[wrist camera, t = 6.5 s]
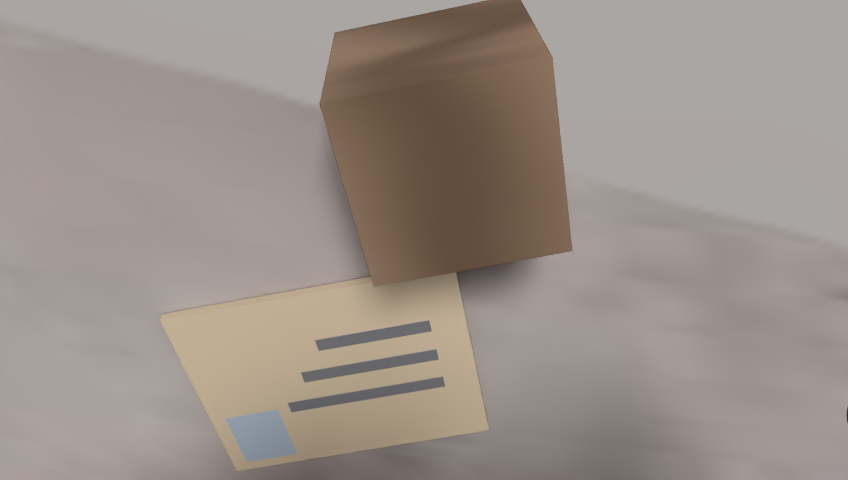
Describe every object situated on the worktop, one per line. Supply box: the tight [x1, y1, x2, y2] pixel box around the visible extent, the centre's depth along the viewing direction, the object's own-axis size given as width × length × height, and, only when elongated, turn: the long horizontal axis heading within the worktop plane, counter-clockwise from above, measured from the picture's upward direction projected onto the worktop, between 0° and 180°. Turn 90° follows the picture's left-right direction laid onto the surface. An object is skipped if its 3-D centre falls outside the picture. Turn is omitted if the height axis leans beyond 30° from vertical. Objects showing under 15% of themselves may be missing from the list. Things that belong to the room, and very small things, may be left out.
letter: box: [160, 272, 489, 471], centre depth 23 cm, size 9×7×1 cm
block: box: [320, 0, 572, 287], centre depth 17 cm, size 4×4×4 cm
